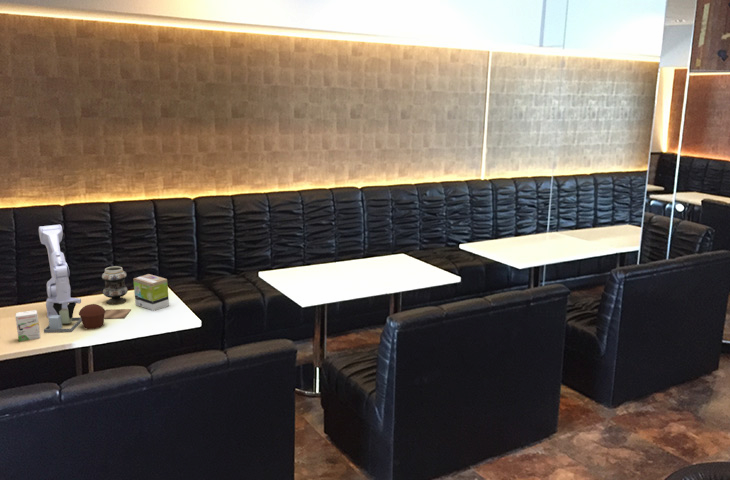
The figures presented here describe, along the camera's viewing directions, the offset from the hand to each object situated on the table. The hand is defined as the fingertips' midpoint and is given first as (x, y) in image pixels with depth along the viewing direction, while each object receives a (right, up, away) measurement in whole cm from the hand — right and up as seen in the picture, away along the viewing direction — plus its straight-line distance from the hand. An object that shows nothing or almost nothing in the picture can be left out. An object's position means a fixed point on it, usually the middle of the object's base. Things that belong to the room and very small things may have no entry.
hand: (66, 318), depth 299 cm
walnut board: (+18, 0, +13) cm, 22 cm away
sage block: (0, -2, 0) cm, 2 cm away
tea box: (+32, +3, +26) cm, 41 cm away
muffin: (+14, -4, -2) cm, 14 cm away
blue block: (-2, -4, -6) cm, 8 cm away
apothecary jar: (+11, +4, +32) cm, 34 cm away
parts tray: (0, -4, -3) cm, 4 cm away
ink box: (-8, -7, -17) cm, 20 cm away
